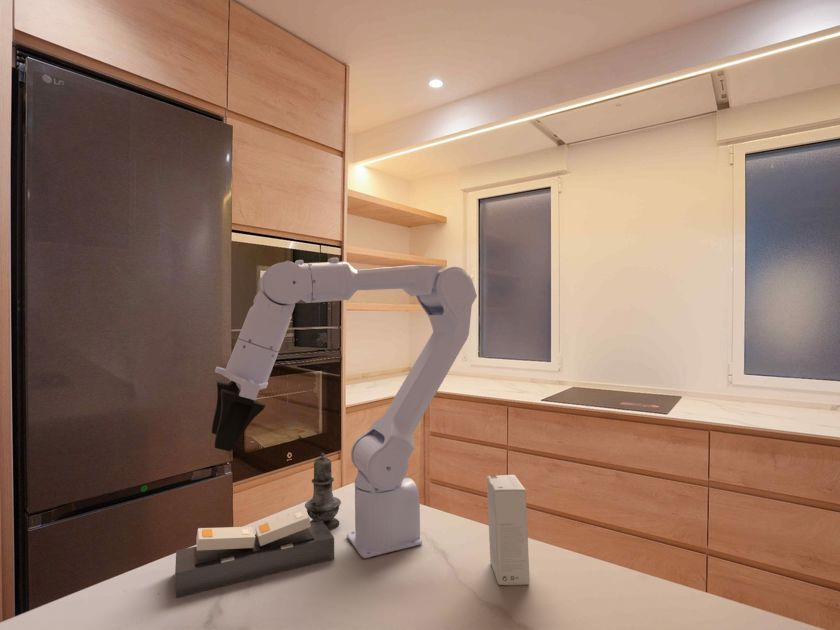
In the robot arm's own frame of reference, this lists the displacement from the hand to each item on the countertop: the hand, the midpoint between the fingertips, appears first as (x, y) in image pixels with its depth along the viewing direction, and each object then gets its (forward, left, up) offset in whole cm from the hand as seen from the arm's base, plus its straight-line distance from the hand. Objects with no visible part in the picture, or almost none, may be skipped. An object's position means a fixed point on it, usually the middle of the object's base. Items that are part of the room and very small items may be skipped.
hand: (220, 441), depth 63 cm
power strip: (-4, 0, -18) cm, 18 cm away
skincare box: (-34, +17, -18) cm, 42 cm away
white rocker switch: (0, 0, -13) cm, 13 cm away
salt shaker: (-16, -9, -18) cm, 26 cm away
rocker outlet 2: (-8, 0, -13) cm, 15 cm away
